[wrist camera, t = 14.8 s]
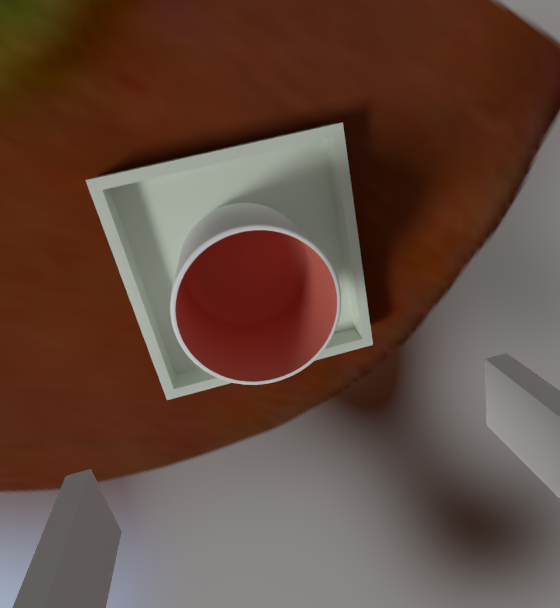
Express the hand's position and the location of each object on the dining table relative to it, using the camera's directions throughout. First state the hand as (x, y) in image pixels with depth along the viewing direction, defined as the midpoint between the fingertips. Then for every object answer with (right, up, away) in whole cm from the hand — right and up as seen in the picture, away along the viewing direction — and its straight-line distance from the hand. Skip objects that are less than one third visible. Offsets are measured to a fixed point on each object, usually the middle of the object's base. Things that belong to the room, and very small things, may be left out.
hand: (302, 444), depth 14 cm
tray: (-4, +8, +21) cm, 23 cm away
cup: (-4, +8, +20) cm, 22 cm away
